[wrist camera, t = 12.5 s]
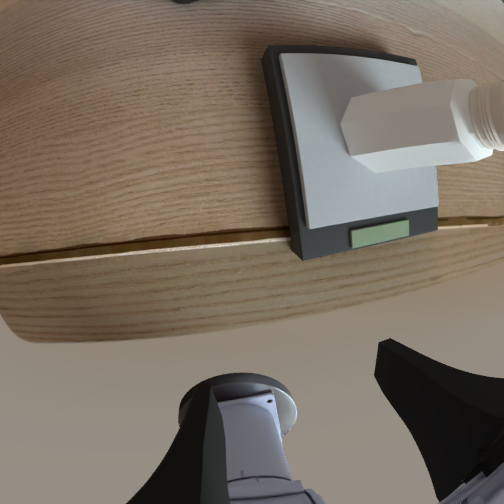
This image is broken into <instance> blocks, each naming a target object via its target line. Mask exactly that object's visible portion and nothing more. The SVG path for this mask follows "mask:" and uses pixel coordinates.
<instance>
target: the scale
mask: <svg viewBox="0 0 504 504" xmlns="http://www.w3.org/2000/svg"><path fill="white" fill-rule="evenodd" d="M261 60H262V65H263V70H264V75H265V80H266V86H267V91H268V96H269V102H270V107H271V113H272V118H273V124H274V130H275V136H276V142H277V148H278V154H279V161H280V167H281V173H282V180H283V187H284V194H285V201H286V208H287V215H288V222H289V230H290V238H291V246H292V251H293V252H294V253H295V254H296V255H297V256H298V257H299V258H300V259H301V260H308V259H313V258H317V257H322V256H327V255H331V254H336V253H340V252H345V251H349V250H354V249H358V248H363V247H367V246H372V245H376V244H380V243H385V242H389V241H393V240H398V239H402V238H406V237H411V236H415V235H419V234H423V233H427V232H432V231H436V230H437V229H438V211H437V206H438V183H437V169H436V166H426V167H418V168H409V169H401V170H393V171H386V172H378V173H375V172H373V171H372V170H370V169H369V168H367V167H366V166H364V165H363V164H361V163H360V162H358V161H357V160H355V159H354V158H352V157H350V154H349V151H348V148H347V145H346V142H345V139H344V136H343V133H342V130H341V127H340V122H341V120H342V117H343V115H344V113H345V111H346V108H347V106H348V104H349V101H350V99H351V98H352V97H356V96H360V95H364V94H369V93H373V92H377V91H382V90H387V89H392V88H397V87H402V86H408V85H414V84H420V83H423V82H422V78H421V74H420V70H419V67H418V66H417V63H416V60H415V59H412V58H407V57H402V56H397V55H392V54H387V53H381V52H374V51H368V50H360V49H351V48H341V47H328V46H305V45H278V46H268V47H267V49H266V51H265V53H264V55H263V57H262V59H261Z"/></svg>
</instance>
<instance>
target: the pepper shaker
mask: <svg viewBox="0 0 504 504" xmlns="http://www.w3.org/2000/svg"><path fill="white" fill-rule="evenodd" d="M340 127H341V130H342V133H343V136H344V139H345V142H346V145H347V148H348V151H349V154H350V157H352V158H354V159H355V160H357V161H358V162H360V163H361V164H363V165H364V166H366V167H367V168H369V169H370V170H372V171H373V172H375V173H378V172H386V171H393V170H401V169H409V168H418V167H426V166H436V165H446V164H457V163H467V162H474V161H478V160H481V159H483V158H486V157H489V156H491V155H492V152H493V149H496V150H499V151H504V80H502V81H501V82H499V83H497V84H495V83H491V84H487V85H483V86H481V87H478V86H477V85H476V84H475V83H474V82H473V80H470V79H454V80H441V81H433V82H426V83H420V84H414V85H408V86H402V87H397V88H392V89H387V90H382V91H377V92H373V93H369V94H364V95H360V96H356V97H352V98H351V99H350V101H349V104H348V106H347V108H346V111H345V113H344V115H343V117H342V120H341V122H340Z"/></svg>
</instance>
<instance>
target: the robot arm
mask: <svg viewBox="0 0 504 504" xmlns="http://www.w3.org/2000/svg"><path fill="white" fill-rule="evenodd" d="M374 376H375V378H376V380H377V382H378V384H379V386H380V388H381V390H382V392H383V393H384V395H385V396H386V398H387V399H388V401H389V402H390V403H391V405H392V406H393V408H394V409H395V410H396V412H397V413H398V415H399V416H400V417H401V419H402V420H403V422H404V423H405V425H406V426H407V428H408V429H409V431H410V432H411V434H412V436H413V438H414V440H415V442H416V444H417V446H418V448H419V450H420V452H421V454H422V457H423V459H424V461H425V464H426V466H427V469H428V471H429V474H430V477H431V480H432V483H433V486H434V489H435V493H436V497H437V499H438V500H439V503H438V504H460V503H461V502H462V501H463V502H462V503H461V504H504V378H494V377H487V376H482V375H476V374H472V373H469V372H465V371H462V370H458V369H455V368H453V367H450V366H447V365H445V364H442V363H440V362H438V361H435V360H433V359H431V358H429V357H427V356H425V355H423V354H420V353H418V352H416V351H414V350H412V349H410V348H408V347H407V346H405V345H403V344H401V343H399V342H397V341H395V340H393V339H391V338H389V339H387V340H384V341H381V342H379V344H378V352H377V359H376V366H375V373H374ZM270 399H271V400H270ZM126 504H326V502H325V501H324V499H323V498H322V497H321V496H320V495H319V494H317V493H316V492H315V491H313V490H312V489H303V487H302V484H301V481H300V480H296V481H293V479H292V476H291V473H290V469H289V466H288V463H287V460H286V457H285V453H284V450H283V447H282V438H281V432H280V426H279V420H278V415H277V409H276V403H275V397H274V394H273V393H272V392H266V393H261V394H257V395H252V396H247V397H242V398H236V399H231V400H225V401H219V402H217V401H216V398H215V396H214V393H213V390H212V388H211V385H210V386H204V387H197V388H195V389H194V392H193V395H192V398H191V401H190V404H189V407H188V409H187V412H186V415H185V417H184V419H183V422H182V424H181V426H180V429H179V431H178V433H177V435H176V437H175V439H174V441H173V443H172V445H171V447H170V449H169V450H168V452H167V454H166V455H165V457H164V458H163V460H162V462H161V463H160V465H159V466H158V467H157V469H156V470H155V472H154V473H153V474H152V476H151V477H150V478H149V480H148V481H147V482H146V483H145V485H144V486H143V487H142V488H141V489H140V490H139V491H138V492H137V493H136V494H135V495H134V496H133V497H132V499H131V500H129V501H128V502H127V503H126Z"/></svg>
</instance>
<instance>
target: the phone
mask: <svg viewBox="0 0 504 504" xmlns="http://www.w3.org/2000/svg"><path fill="white" fill-rule="evenodd" d="M173 1H174V2H176V3H180V4H185V3H191V2H194V1H198V0H173Z"/></svg>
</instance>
